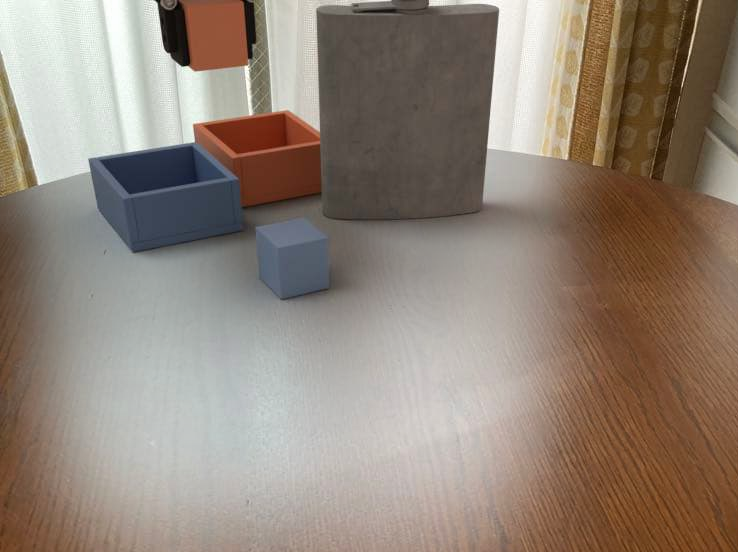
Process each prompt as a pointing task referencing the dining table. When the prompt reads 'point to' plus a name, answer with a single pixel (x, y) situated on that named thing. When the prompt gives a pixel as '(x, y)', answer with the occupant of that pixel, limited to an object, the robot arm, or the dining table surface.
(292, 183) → the terracotta bin
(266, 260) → the blue block
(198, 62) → the terracotta block
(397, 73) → the hip flask
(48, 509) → the dining table surface
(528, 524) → the dining table surface
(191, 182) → the blue bin
